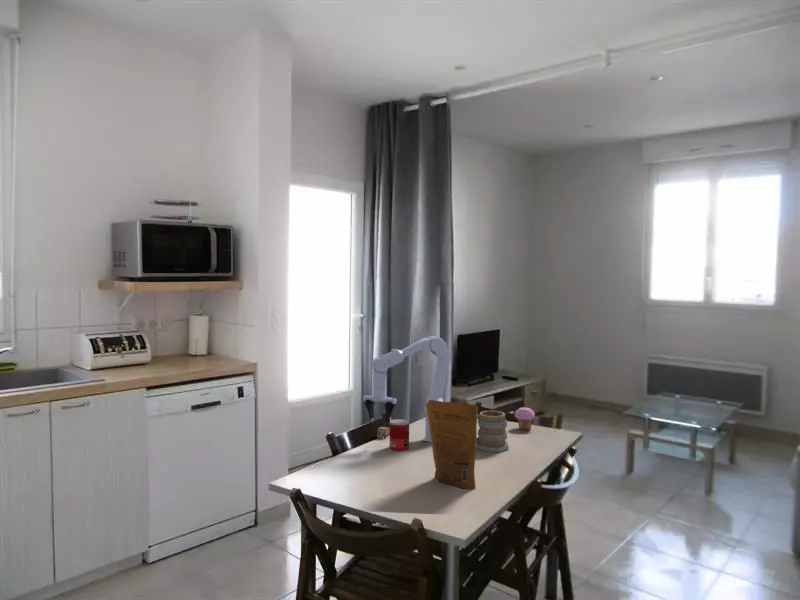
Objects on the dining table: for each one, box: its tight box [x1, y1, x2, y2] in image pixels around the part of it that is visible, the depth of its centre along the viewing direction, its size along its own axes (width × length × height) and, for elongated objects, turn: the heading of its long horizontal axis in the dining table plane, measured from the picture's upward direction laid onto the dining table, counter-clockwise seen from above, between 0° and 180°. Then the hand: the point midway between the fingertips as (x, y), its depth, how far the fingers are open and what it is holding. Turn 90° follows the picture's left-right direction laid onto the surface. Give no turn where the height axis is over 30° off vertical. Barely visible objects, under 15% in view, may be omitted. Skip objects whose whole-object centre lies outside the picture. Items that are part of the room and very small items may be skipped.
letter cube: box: [376, 426, 390, 439], centre depth 242 cm, size 4×4×4 cm
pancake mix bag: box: [425, 400, 479, 490], centre depth 186 cm, size 7×19×28 cm, turn 51°
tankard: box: [476, 410, 509, 453], centre depth 227 cm, size 20×13×15 cm, turn 84°
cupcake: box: [514, 406, 536, 431], centre depth 255 cm, size 9×9×10 cm
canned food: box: [389, 418, 410, 452], centre depth 225 cm, size 8×8×11 cm
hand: (379, 419), depth 231 cm, fingers open, 7 cm apart
